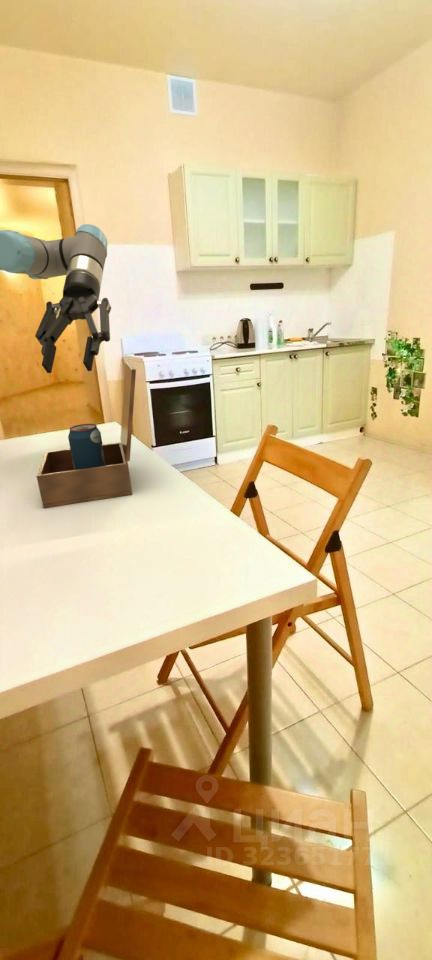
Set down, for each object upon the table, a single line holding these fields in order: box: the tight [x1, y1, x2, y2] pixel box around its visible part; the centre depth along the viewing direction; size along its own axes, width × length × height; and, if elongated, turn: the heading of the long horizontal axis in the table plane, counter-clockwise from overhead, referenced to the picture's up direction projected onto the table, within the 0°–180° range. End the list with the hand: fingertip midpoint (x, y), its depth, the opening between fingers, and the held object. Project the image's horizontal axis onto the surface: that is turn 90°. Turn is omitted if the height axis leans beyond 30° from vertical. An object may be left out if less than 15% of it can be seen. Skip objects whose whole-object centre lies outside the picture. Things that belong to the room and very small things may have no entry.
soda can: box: [67, 423, 106, 470], centre depth 99 cm, size 7×7×12 cm
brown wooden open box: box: [36, 441, 133, 509], centre depth 98 cm, size 18×18×7 cm
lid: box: [120, 361, 137, 462], centre depth 95 cm, size 18×18×1 cm
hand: (66, 367), depth 89 cm, fingers open, 8 cm apart
